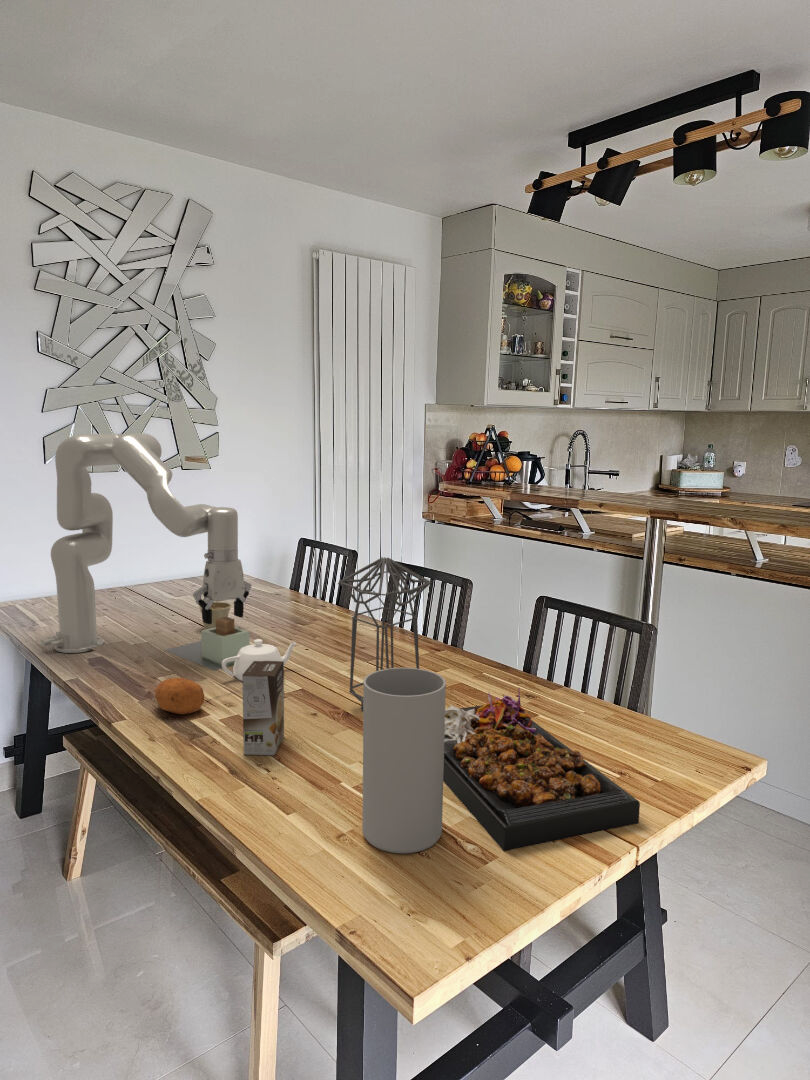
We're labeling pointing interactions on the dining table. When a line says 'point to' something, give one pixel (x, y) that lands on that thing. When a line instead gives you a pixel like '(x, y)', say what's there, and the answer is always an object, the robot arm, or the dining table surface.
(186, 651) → the slate board
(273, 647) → the teapot
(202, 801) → the dining table surface
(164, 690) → the potato
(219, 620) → the brown wooden block
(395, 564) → the geometric lantern
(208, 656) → the square sage planter
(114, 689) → the dining table surface
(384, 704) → the cylinder vase
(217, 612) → the flower pot
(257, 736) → the coffee box
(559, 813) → the food platter
